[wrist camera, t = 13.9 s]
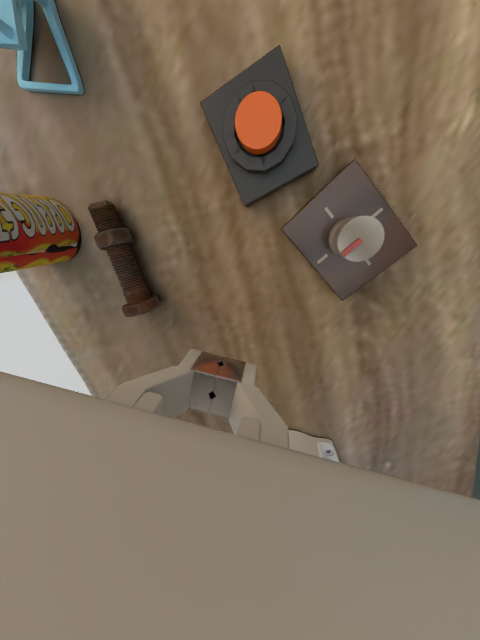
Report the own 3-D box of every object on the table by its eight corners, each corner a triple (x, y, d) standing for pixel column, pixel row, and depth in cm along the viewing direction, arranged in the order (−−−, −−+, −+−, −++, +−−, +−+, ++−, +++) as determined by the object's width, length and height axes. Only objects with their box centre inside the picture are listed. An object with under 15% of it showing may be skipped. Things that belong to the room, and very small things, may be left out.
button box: (314, 169, 28) (321, 160, 24) (246, 207, 31) (242, 204, 26) (279, 61, 25) (279, 29, 21) (206, 113, 27) (194, 93, 23)
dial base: (404, 243, 30) (418, 245, 27) (336, 294, 33) (342, 301, 30) (347, 164, 27) (355, 157, 25) (280, 228, 31) (281, 229, 28)
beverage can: (72, 272, 37) (-11, 293, 26) (20, 241, 37) (-90, 248, 26) (88, 219, 34) (-2, 218, 23) (30, 183, 33) (-92, 163, 22)
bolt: (122, 205, 34) (160, 302, 39) (84, 212, 33) (128, 312, 37) (117, 193, 29) (161, 307, 33) (72, 202, 28) (124, 320, 32)
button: (288, 139, 24) (289, 132, 22) (248, 163, 25) (246, 158, 23) (270, 90, 23) (270, 78, 21) (230, 118, 24) (226, 109, 22)
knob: (353, 207, 26) (369, 204, 22) (376, 238, 27) (395, 240, 23) (320, 236, 28) (329, 238, 24) (343, 264, 29) (355, 271, 24)
